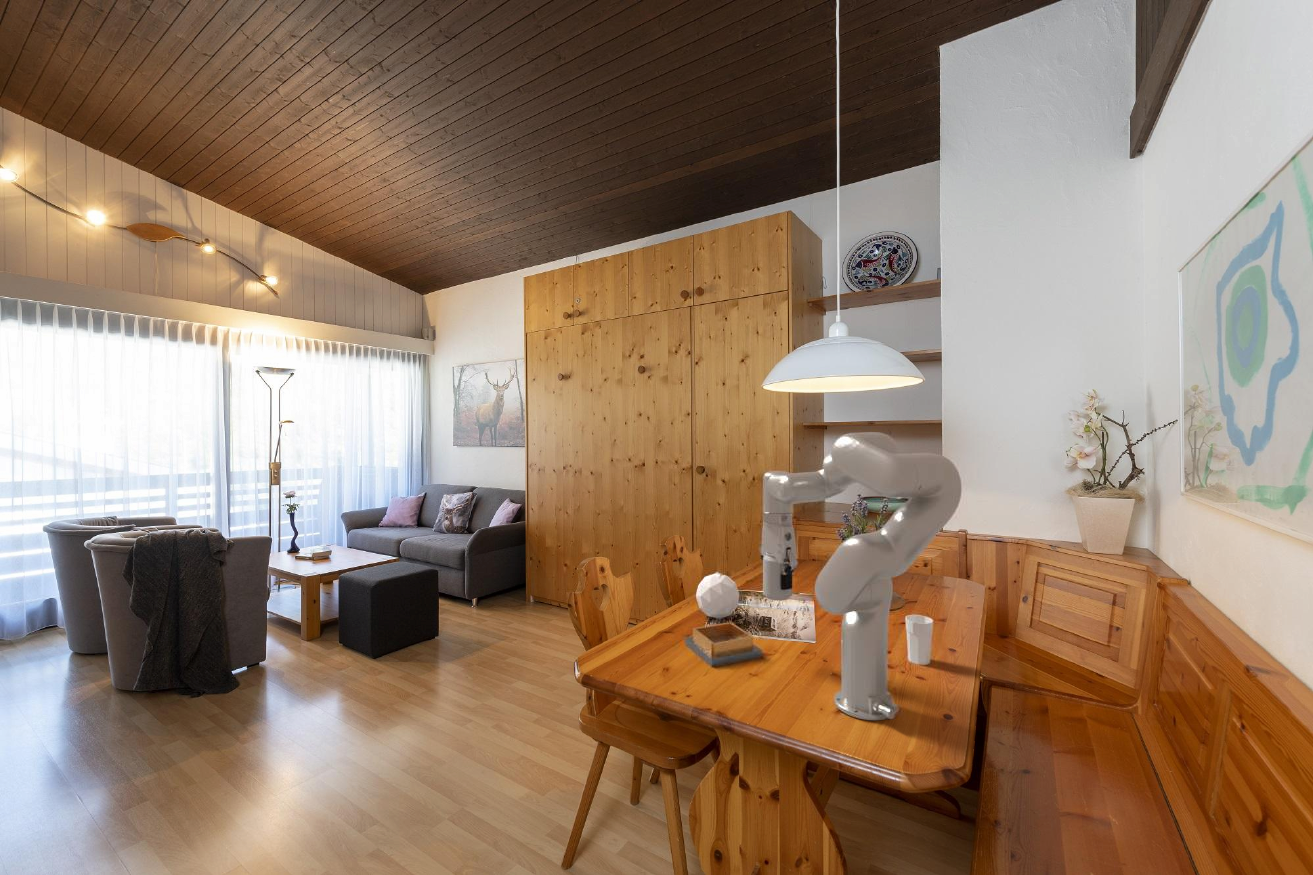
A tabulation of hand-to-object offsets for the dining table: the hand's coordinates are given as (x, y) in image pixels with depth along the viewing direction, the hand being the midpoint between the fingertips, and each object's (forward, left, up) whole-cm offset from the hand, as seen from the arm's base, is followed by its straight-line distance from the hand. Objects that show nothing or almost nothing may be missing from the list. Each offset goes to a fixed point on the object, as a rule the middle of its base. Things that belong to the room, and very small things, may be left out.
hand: (777, 584), depth 149 cm
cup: (-15, -33, -20) cm, 42 cm away
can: (0, 0, -4) cm, 4 cm away
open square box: (+11, +11, -20) cm, 25 cm away
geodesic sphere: (+36, -1, -20) cm, 41 cm away
